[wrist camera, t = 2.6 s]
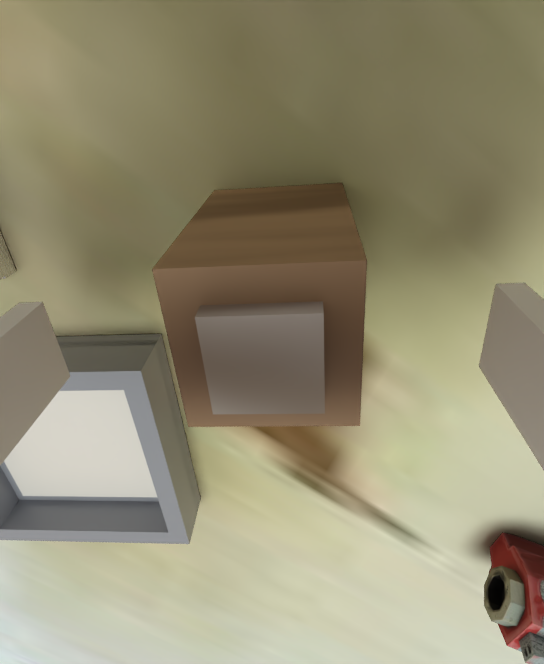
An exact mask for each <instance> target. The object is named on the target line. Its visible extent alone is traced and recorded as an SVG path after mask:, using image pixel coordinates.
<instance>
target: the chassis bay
mask: <svg viewBox="0 0 544 664" xmlns="http://www.w3.org/2000/svg"><path fill="white" fill-rule="evenodd" d="M56 339H57V341H58V344H59V347H60V349H61V352H62V355H63V357H64V360H65V363H66V365H67V368H68V371H69V373H70V378H69V379H68V380H67V381H66V383H65V384H64V385H63V386H62V388H61V389H60V390H59V392H58V393H57V394H56V395H55V397H54V398H53V399H52V400H51V402H50V403H49V404H48V406H47V407H46V408H45V409H44V411H43V412H42V413H41V414H40V416H39V417H38V418H37V420H36V421H35V422H34V423H33V425H32V426H31V427H30V428H29V430H28V431H27V432H26V434H25V435H24V436H23V437H22V439H21V440H20V441H19V442H18V444H17V445H16V446H15V448H14V449H13V450H12V451H11V453H10V454H9V455H8V457H7V458H6V459H5V460H4V462H3V463H2V464H1V465H0V540H30V541H76V542H122V543H169V544H190V540H191V536H192V532H193V528H194V524H195V520H196V515H197V511H198V507H199V503H200V499H201V498H200V494H199V490H198V486H197V481H196V477H195V473H194V469H193V465H192V460H191V456H190V452H189V448H188V444H187V439H186V435H185V431H184V427H183V423H182V418H181V414H180V410H179V406H178V402H177V397H176V393H175V389H174V385H173V381H172V376H171V372H170V368H169V364H168V360H167V355H166V351H165V347H164V343H163V339H162V334H137V335H99V336H62V337H56Z"/></svg>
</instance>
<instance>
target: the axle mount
mask: <svg viewBox="0 0 544 664" xmlns="http://www.w3.org/2000/svg"><path fill="white" fill-rule="evenodd" d="M14 272H16V268H15V266H14V263H13V261H12V259H11V256H10V254H9V251H8V249H7V246H6V244H5V241H4V239H3V236H2V234H1V231H0V279H2V278H7V277H8V276H10V275H11V274H13V273H14Z"/></svg>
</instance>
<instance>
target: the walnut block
mask: <svg viewBox="0 0 544 664" xmlns="http://www.w3.org/2000/svg"><path fill="white" fill-rule="evenodd" d="M152 271H153V275H154V279H155V284H156V288H157V292H158V297H159V301H160V305H161V310H162V314H163V319H164V323H165V327H166V332H167V336H168V340H169V345H170V349H171V353H172V358H173V362H174V366H175V371H176V375H177V379H178V384H179V388H180V392H181V397H182V401H183V405H184V410H185V414H186V419H187V423H188V427H215V426H360V411H361V387H362V364H363V341H364V317H365V294H366V271H367V259H366V256H365V253H364V250H363V246H362V243H361V240H360V237H359V234H358V231H357V228H356V225H355V221H354V218H353V215H352V212H351V209H350V206H349V203H348V200H347V196H346V193H345V190H344V187H343V184H342V183H330V184H313V185H296V186H279V187H262V188H245V189H229V190H214V191H213V193H212V194H211V195H210V196H209V198H208V199H207V200H206V201H205V203H204V204H203V205H202V207H201V208H200V209H199V210H198V212H197V213H196V214H195V215H194V217H193V218H192V219H191V221H190V222H189V223H188V224H187V226H186V227H185V228H184V229H183V231H182V232H181V233H180V234H179V236H178V237H177V238H176V240H175V241H174V242H173V243H172V245H171V246H170V247H169V248H168V250H167V251H166V252H165V254H164V255H163V256H162V257H161V259H160V260H159V261H158V262H157V264H156V265H155V266H154V268H153V269H152Z"/></svg>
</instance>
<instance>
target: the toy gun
mask: <svg viewBox="0 0 544 664" xmlns="http://www.w3.org/2000/svg"><path fill="white" fill-rule="evenodd" d="M490 555H491V563H492V566H491V569H490V571H489V575H488V578H487V580H486V582H485V584H484V606H485V608H486V611H487V613H488V615H489V617H490V619H491V621H493V622H495V623H498V625H499V628H500V630H501V633H502V635H503V637H504V640H505V642H506V645H507V646H509V647H512V648H514V649H517V650H519V651H521V652H522V653H523V657H524V660H525V663H528V664H544V546H542V545H540V544H537V543H534V542H532V541H529V540H526V539H524V538H521V537H519V536H516V535H512V534H508V533H502V534H501V535H500V536H499V537H498V538H497V540H496V541H495V542H494V543H493V544H492V545H491V547H490Z"/></svg>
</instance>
